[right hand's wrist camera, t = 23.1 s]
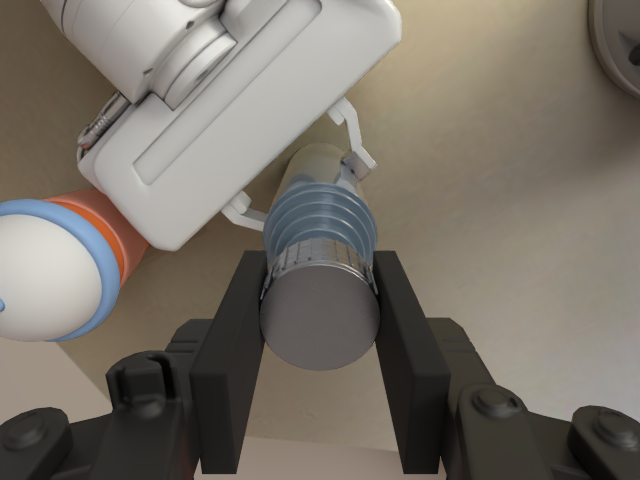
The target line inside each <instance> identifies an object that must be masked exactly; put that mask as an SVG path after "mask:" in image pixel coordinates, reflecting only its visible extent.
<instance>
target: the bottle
mask: <svg viewBox="0 0 640 480" xmlns="http://www.w3.org/2000/svg"><path fill="white" fill-rule="evenodd" d="M344 154H345V153H344V152H343V151H342V150H341V149H339V148H338V147H336V146H334V145H332V144H329V143H323V142H316V143H311V144H308V145H306V146H304V147H302V148H300V149H299V150H298V151H297V152H296V153H295V154H294V155H293V157H292V158H291V160H290V162H289V164H288V166H287V169H286V171H285V174H284V176H283V178H282V181H281V183H280V185H279V188H278V190H277V193H276V195H275V197H274V200H273V202H272V205H271V207H270V209H269V212H268V214H267V217H266V220H265V223H264V227H263V245H264V250H265V251H267V260H268V263H269V265H270V266H272V265H273V263H274V262H275V260H276V257H277V256H279V255H280V254H281V253H282V252H284V251H285V249H286V248H289V247H290V246H292V245H294V244H296V243H297V242H298V241H299V242H301V241H304V240H308V239H309V238H312V239H316V238H325V239H332V240H338V241H339V242H342V243H344V244H346V245H350V247H351V248H353V249H354V250H355V251H356V252H359V253H360V255H361V257H362V258H363V259H364V260H365V261H367V262H368V266H369V267H370V264H371V262H372V260H373V251H375V249H376V244H377V227H376V223H375V220H374V217H373V215H372V212H371V210H370V207H369V205H368V203H367V200H366V198H365V195H364V193H363V190H362V188H361V186H360V183H359V181H358V178H357V177H356V176H355V174H354V172H353V170H351V169H349V168H348V167H347V166H346V165H345V163H344V162H343V161H342V158H341V157H342V156H343V155H344Z"/></svg>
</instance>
